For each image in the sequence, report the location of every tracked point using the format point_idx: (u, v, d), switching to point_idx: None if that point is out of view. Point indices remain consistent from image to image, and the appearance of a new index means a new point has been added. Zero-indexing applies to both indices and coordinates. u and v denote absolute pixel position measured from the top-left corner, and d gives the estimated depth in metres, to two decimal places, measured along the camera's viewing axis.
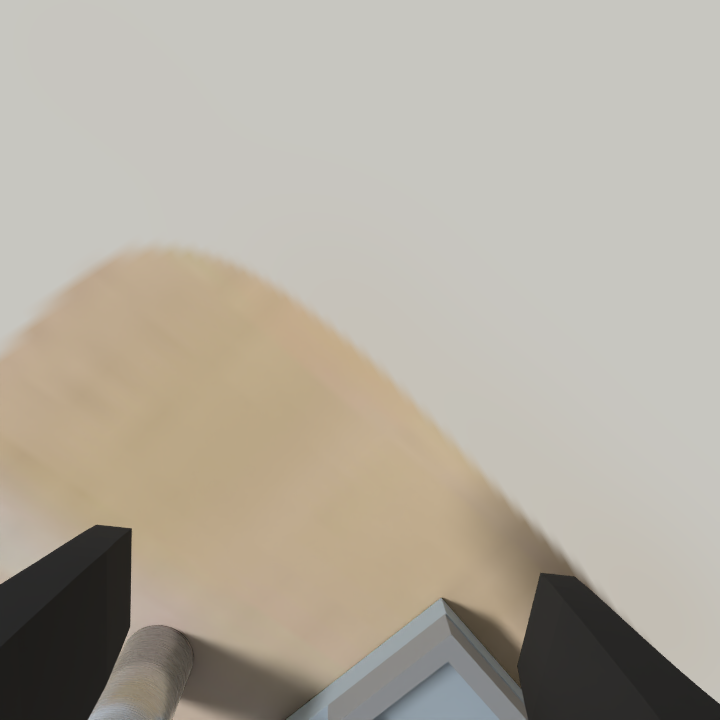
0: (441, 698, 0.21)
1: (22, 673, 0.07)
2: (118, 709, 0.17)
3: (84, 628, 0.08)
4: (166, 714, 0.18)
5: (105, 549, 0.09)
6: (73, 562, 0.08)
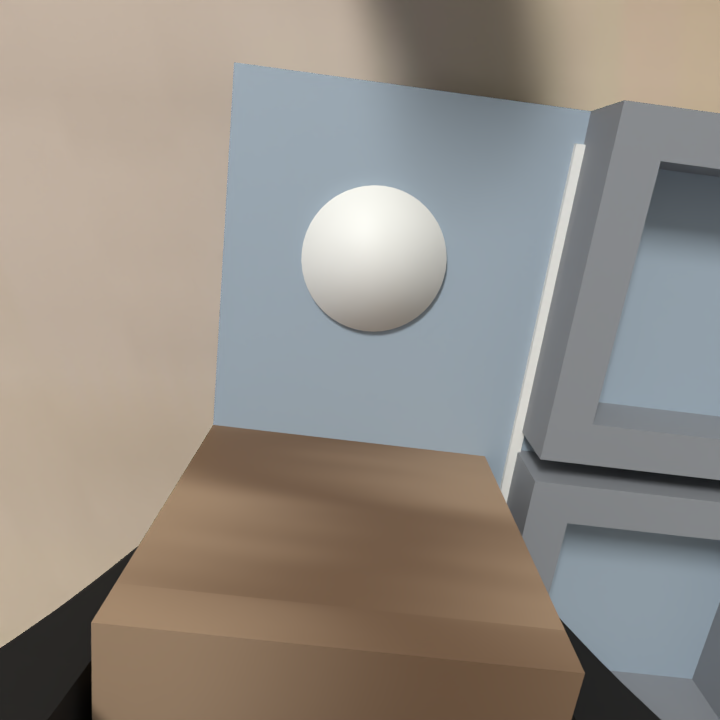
0: None
1: None
2: None
3: None
4: None
5: None
6: None
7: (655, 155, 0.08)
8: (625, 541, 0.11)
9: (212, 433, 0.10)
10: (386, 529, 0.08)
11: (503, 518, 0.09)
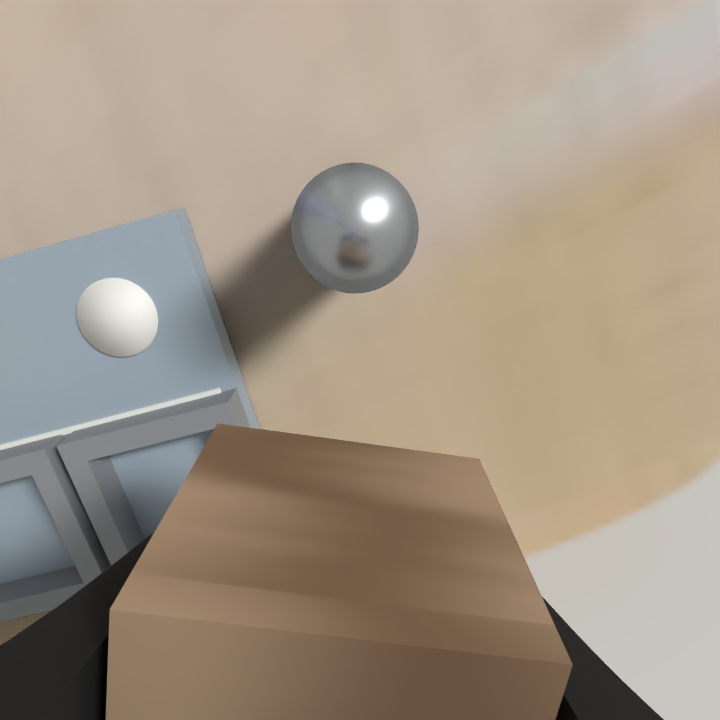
0: None
1: (105, 681, 0.07)
2: None
3: None
4: None
5: None
6: None
7: (214, 425, 0.17)
8: (47, 511, 0.19)
9: (217, 431, 0.11)
10: (386, 527, 0.08)
11: (497, 519, 0.09)
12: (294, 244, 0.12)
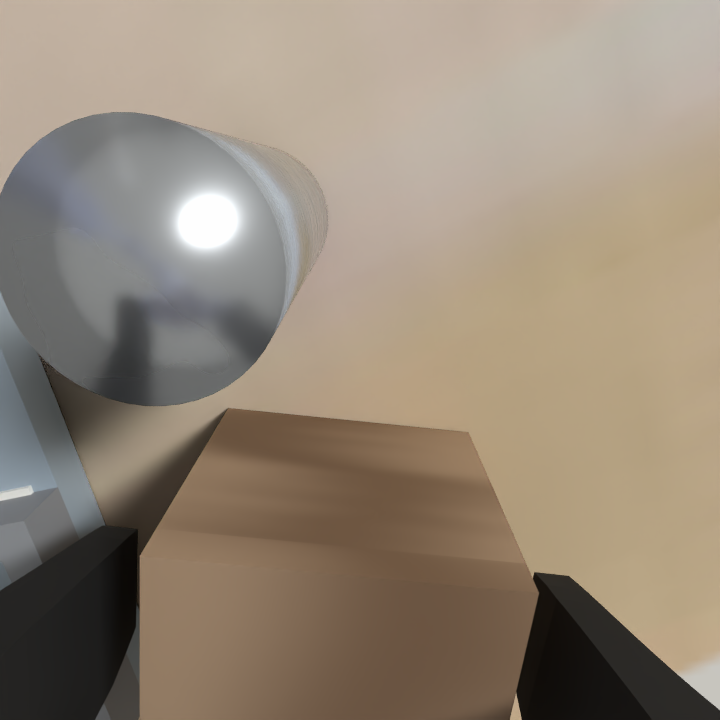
0: None
1: (31, 674, 0.07)
2: None
3: (91, 629, 0.08)
4: None
5: (112, 550, 0.09)
6: (80, 563, 0.08)
7: (2, 557, 0.10)
8: None
9: (227, 415, 0.12)
10: (379, 489, 0.09)
11: (481, 482, 0.10)
12: (6, 292, 0.05)
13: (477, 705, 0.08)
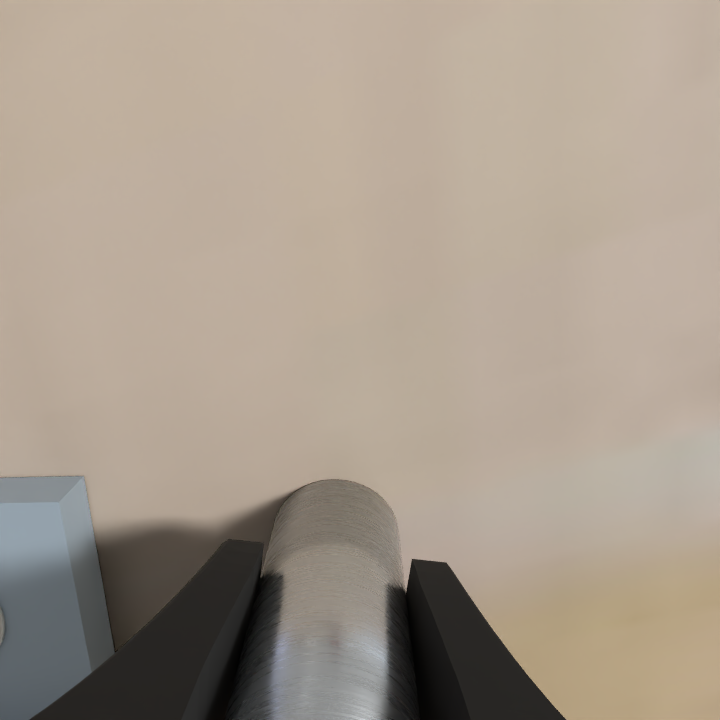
0: None
1: (209, 692, 0.07)
2: None
3: (238, 644, 0.08)
4: None
5: (252, 565, 0.09)
6: (229, 579, 0.08)
7: None
8: None
9: None
10: None
11: None
12: None
13: None
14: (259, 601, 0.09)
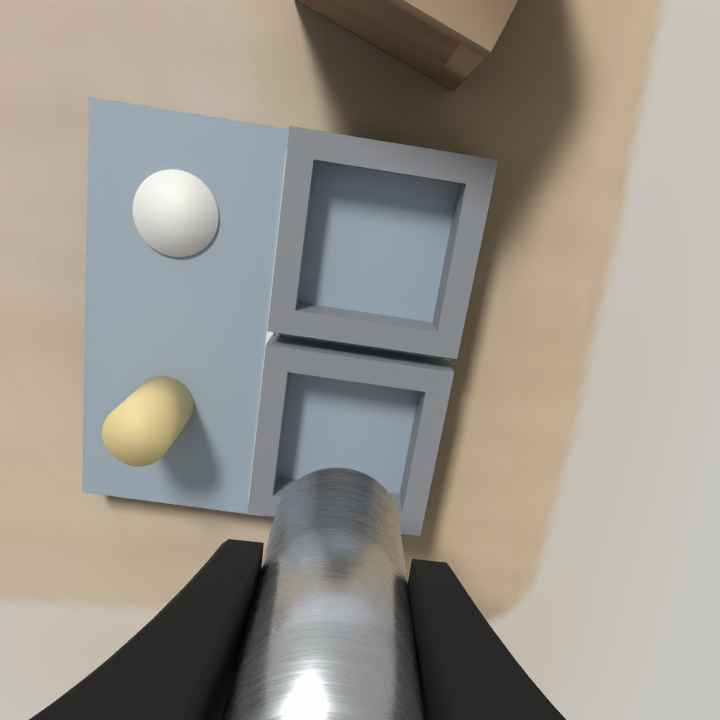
0: (397, 240, 0.17)
1: (209, 692, 0.07)
2: None
3: (238, 644, 0.08)
4: None
5: (253, 565, 0.09)
6: (229, 579, 0.08)
7: (309, 156, 0.15)
8: (345, 397, 0.18)
9: None
10: None
11: None
12: None
13: None
14: (263, 581, 0.09)
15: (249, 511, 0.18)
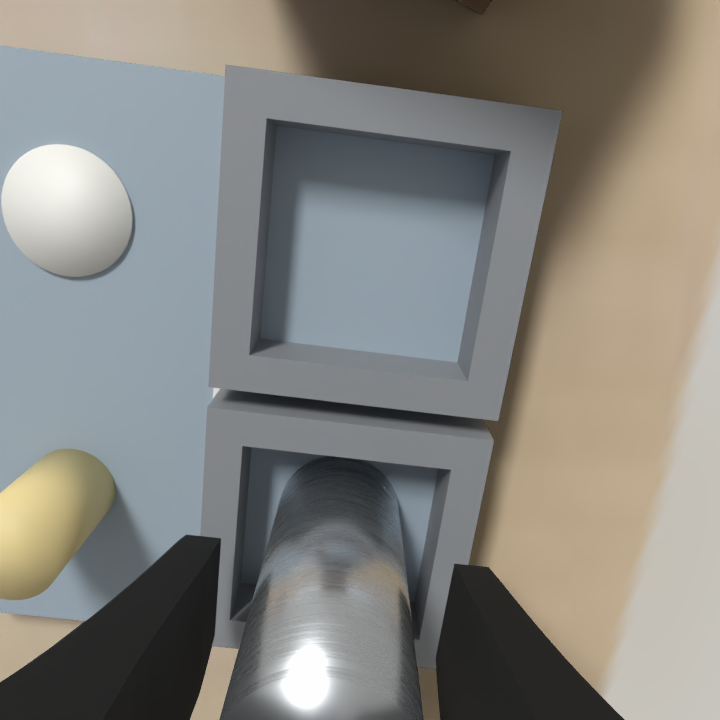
0: (402, 243, 0.11)
1: (149, 686, 0.07)
2: None
3: (189, 639, 0.08)
4: None
5: (205, 560, 0.09)
6: (179, 573, 0.08)
7: (260, 113, 0.09)
8: None
9: None
10: None
11: None
12: None
13: None
14: (269, 557, 0.10)
15: None
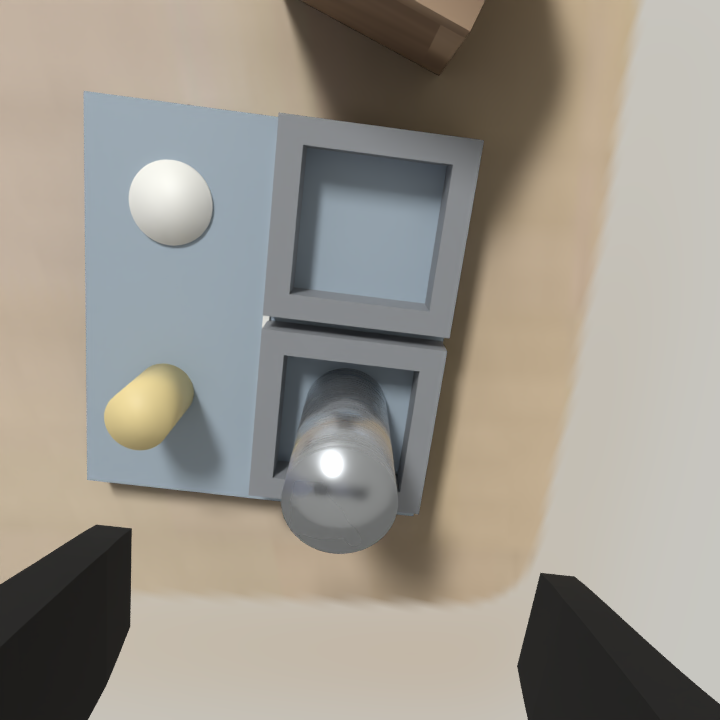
0: (388, 223, 0.17)
1: (22, 673, 0.07)
2: None
3: (84, 628, 0.08)
4: None
5: (105, 549, 0.09)
6: (73, 562, 0.08)
7: (299, 141, 0.15)
8: None
9: None
10: None
11: None
12: (282, 495, 0.13)
13: None
14: (304, 417, 0.16)
15: (250, 493, 0.18)
